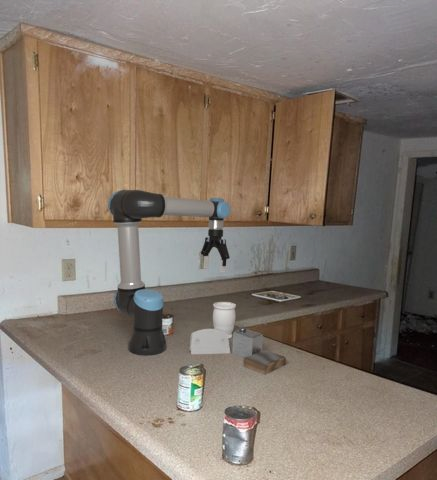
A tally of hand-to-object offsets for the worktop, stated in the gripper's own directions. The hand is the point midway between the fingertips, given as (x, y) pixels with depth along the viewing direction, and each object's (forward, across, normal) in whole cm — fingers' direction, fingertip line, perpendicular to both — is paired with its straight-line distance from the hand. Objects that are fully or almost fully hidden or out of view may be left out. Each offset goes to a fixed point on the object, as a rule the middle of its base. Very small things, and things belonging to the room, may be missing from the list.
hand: (214, 270), depth 195 cm
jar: (+27, -20, +9) cm, 35 cm away
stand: (+27, -54, +17) cm, 62 cm away
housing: (+27, -42, +15) cm, 53 cm away
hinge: (+27, -30, +25) cm, 48 cm away
